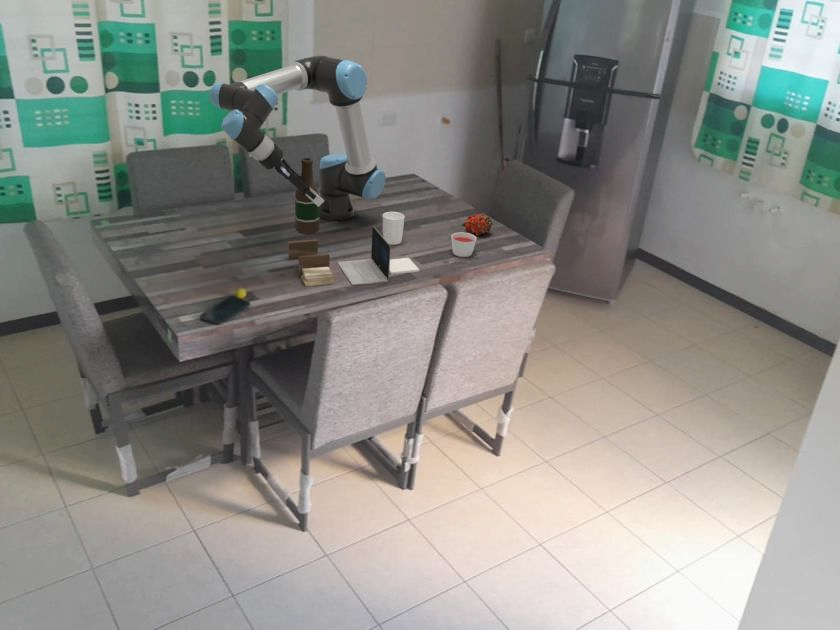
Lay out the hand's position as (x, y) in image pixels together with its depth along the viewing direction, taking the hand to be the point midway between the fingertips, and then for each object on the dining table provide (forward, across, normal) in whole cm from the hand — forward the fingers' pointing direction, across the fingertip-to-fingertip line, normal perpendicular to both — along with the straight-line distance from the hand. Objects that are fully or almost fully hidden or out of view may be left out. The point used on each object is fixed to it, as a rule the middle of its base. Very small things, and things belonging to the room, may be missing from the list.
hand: (317, 199), depth 253 cm
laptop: (+27, +8, -8) cm, 29 cm away
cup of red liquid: (+55, +1, +20) cm, 58 cm away
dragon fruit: (+64, -15, +29) cm, 72 cm away
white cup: (+40, -15, +5) cm, 43 cm away
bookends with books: (+15, +2, -19) cm, 24 cm away
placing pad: (+36, +7, +2) cm, 37 cm away
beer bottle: (+5, 0, -10) cm, 11 cm away
